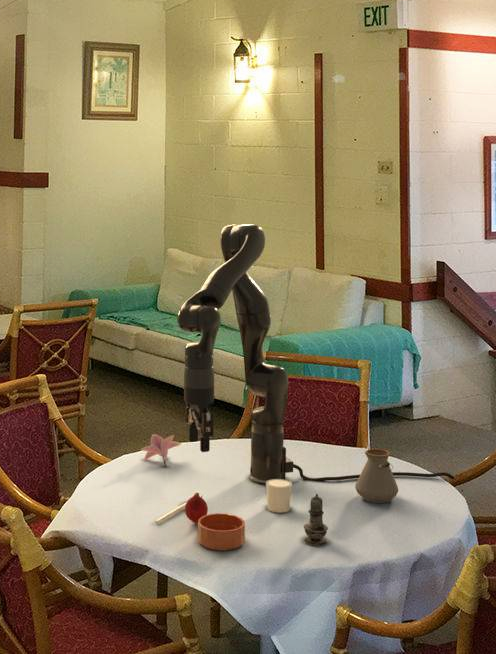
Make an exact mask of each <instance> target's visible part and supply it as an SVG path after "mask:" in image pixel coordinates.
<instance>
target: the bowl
mask: <svg viewBox="0 0 496 654" xmlns="http://www.w3.org/2000/svg"><path fill="white" fill-rule="evenodd" d="M245 533H246V521H245V520H244V519H243V518H242V517H241V516H238V515H236V514H232V513H222V512H221V513H219V512H217V513H216V512H215V513H207V515H205V516H202V517H201V518H200V519H198V523H197V542H198V543H199V544H200V545H202V546H203V547H205V548H208V549H211V550H214V551H230V550H235V549H238V548H239V547H242V545H243V544H244V543H246V542H245V539H246V538H245V537H246V534H245Z"/></svg>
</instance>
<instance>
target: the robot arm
mask: <svg viewBox="0 0 496 654" xmlns="http://www.w3.org/2000/svg"><path fill="white" fill-rule="evenodd" d="M219 238H220V249H221V253H222V257H223V260H224V263H222V264H221V265H219V266H218V267H216V268H215V269H214V270H213V271H211V272H210V273H209V275H208V276H207V277H206V279H205V280H204V283H203V284H202V286H201V287H200V289H199V290H198V291H197V292H195V293H194V294H193V295H192V296H191V297H189V298H188V299H187V300H186V301H185V302H184V303H183V304H182V305H181V306H180V308H179V310H178V313H177V325H178V327H179V329H181V330H182V331H184V332H187V333H196V334H201V338H200V340H194V341H189V342H187V343H186V344H185V346H184V372H183V401H184V403H185V416H184V417H185V418H184V421H185V423H187V427H188V441H189V442H190V443H195V442H198V441H199V447H200V448H199V450H200V452H201V453H208V452H210V451H211V450H210V448H211V447H210V444H211V443H210V439H211V438H213V437H214V433H215V432H214V413H213V412H210V411H209V409H208V408H209V407H208V406H209V405H211V404H213V403H214V402H215V371H214V349H215V344H216V340H217V335H218V332H219V328H220V326H221V313H220V311H219V310H220V309H221V308H222V307H223V306H224V305H225V302H226V301H227V299H228V298H229V296H230V294H231V293H232V297H233V303H234V308H235V314H236V321H237V324H238V329H239V334H240V340H241V346H242V348H241V349H242V354H243V366H244V378H245V379H244V380H245V384H246V387H247V390H248V391H249V392H250V393H251V394H253V395H254V396H259V397H262V398H265V402H264V405H263V406H258V407H255V408H253V409H252V410H251V420H250V421H251V424H250V425H251V427H250V434H251V435H250V467H249V479H250V480H251V481H252V482H254V483H258V484H264V485H266V482H267V481H268V480H271V479H283V480H286V477H287V475H286V474H287V473H288V474H289V473H294V469H296V470H298V472H299V476H300V478H301V479H302V480H305V481H310V482H311V481H312V482H327V481H342V480H343V481H345V480H353V479H359V477H360V475H361V473H360V474H350V475H342V476H341V475H340V476H322V477H308V476H307V475H305V474H304V472H303V468H301V467H300V466H299V465H298V464H295V463H294V461H293V460H292V459H290V458H289V457H288V456H287V448H286V447H285V446H284V441H285V440H284V439H285V438H284V433H285V432H284V431H285V415H286V412H287V408H288V407H287V406H288V395H289V394H288V392H289V376H288V375H289V374H288V372H287V371H286V369H285V368H283V367H282V366H278V365H273V364H270V363H269V364H268V363H266V362H265V359H264V353H263V345H264V341H265V340H266V337H267V336H268V333H269V331H270V328H271V324H272V317H271V309H270V304H269V299H268V297H267V295H266V294H265V293H264V291H263V290H262V288H261V287H260V286H259V285H258V284H257V283H256V281H255V280H254V279H253V278H252V277H251V275H250V274H249V272H248V271H249V269H251V268H252V266H253V265H254V264H255V263H256V262H257V260H258V259H259V258H260V257H261V256H262V254H263V252H264V250H265V246H266V235H265V232H264V230H263V228H262V227H261V226H260V225H257V224H227V225H225V226H224V227H223V228H222V229H221V231H220V237H219ZM392 473H393V476H394V477H397V476H398V477H399V476H400V477H419V478H436V477H448V478H449V479H450V480H455V479H456V478H455V476H453V474H451V473H449V472H444V471H443V472H434V473H423V472H422V473H421V472H405V471H404V472H403V471H392Z"/></svg>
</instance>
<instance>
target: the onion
mask: <svg viewBox="0 0 496 654" xmlns="http://www.w3.org/2000/svg"><path fill="white" fill-rule="evenodd" d="M199 495H200V493H199V492H194V494H193V495H192V496H191V497H190V498H189V499H188V500H187V501H186V502H187V503H186V502H185V503H186V505H185V508H184V513H185V515H186V516H185V517H186V519H188V520H189V521H190V522H192V523H193V524H195V525H198V519H200V518H201V517H202V516H205V515H208V512H209V508H208V503H207V502H206V500H205V499H204V498H203V497H201V495H200V496H199Z"/></svg>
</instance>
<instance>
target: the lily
mask: <svg viewBox="0 0 496 654" xmlns="http://www.w3.org/2000/svg"><path fill="white" fill-rule="evenodd" d="M174 437H175V434H172V435H169V436H167V437H165V438H164V437H162V436H160V435H159V434H156V433H152V434H151V436H150V445H147V446H144V447H142V448H140V451H144V452H146V454H145V455H144V458H143V459H144V461H146V460H148V459H150V458H152V457H155V456H156V455H158V456H160V457H162V460H163V463H164V467H167V465H166V460H165V459H167V458H168V454H169V450H170V449H173V448H175V447H176V448H177V447H179V446H181V445H182V443H181V442H179V441H176V440H174Z"/></svg>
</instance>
